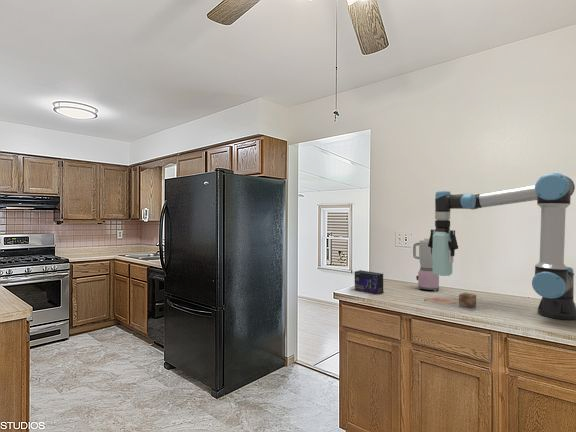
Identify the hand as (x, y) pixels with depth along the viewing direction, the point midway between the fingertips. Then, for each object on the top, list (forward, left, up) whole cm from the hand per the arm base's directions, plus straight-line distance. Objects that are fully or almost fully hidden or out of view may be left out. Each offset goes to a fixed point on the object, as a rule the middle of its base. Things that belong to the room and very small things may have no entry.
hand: (442, 261), depth 191 cm
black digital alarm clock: (+38, +18, -22) cm, 48 cm away
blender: (+27, -19, -22) cm, 40 cm away
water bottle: (0, 0, -7) cm, 7 cm away
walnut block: (-15, 0, -21) cm, 26 cm away
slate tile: (-15, 0, -22) cm, 26 cm away
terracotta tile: (0, 0, -22) cm, 22 cm away
